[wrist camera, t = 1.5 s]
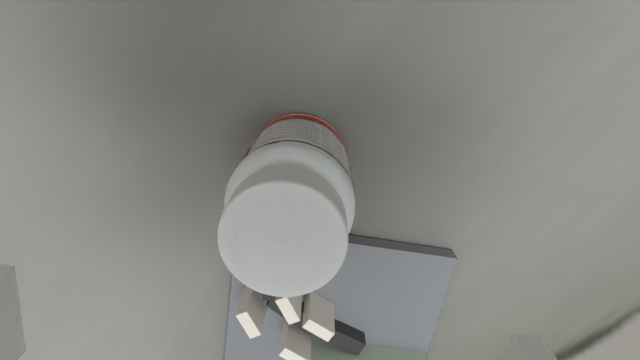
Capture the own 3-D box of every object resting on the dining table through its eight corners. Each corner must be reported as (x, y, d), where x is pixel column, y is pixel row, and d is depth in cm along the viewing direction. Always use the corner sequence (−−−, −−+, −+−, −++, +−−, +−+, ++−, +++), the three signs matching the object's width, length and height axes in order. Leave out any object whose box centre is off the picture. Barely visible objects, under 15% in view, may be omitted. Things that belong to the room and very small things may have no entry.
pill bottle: (304, 218, 27) (291, 335, 17) (233, 161, 26) (170, 249, 15) (367, 154, 26) (396, 239, 15) (294, 89, 24) (271, 134, 14)
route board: (240, 209, 27) (226, 239, 23) (454, 240, 28) (475, 275, 24) (222, 408, 34) (208, 458, 30) (396, 430, 34) (405, 482, 30)
